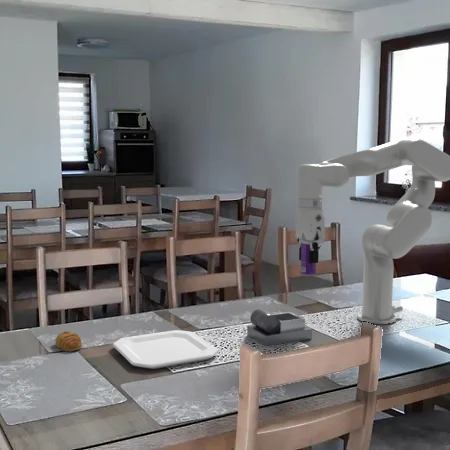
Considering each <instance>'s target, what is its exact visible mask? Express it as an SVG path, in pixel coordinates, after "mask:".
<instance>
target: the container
mask: <svg viewBox="0 0 450 450" xmlns="http://www.w3.org/2000/svg"><path fill="white" fill-rule="evenodd" d="M314 240H316V239H315V238H314ZM315 243H316V242H314V243H313V245H314V244H315ZM309 251H311V250H310V242H309V241H308V240H306V238H305V236H304V233H302V240H301V260H300V275H301V276H304V277H315V276H317V275H316V274H317V272H316V269H317V263H309Z"/></svg>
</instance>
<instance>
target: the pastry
mask: <svg viewBox="0 0 450 450" xmlns="http://www.w3.org/2000/svg"><path fill="white" fill-rule="evenodd" d="M54 342H55V346H56V348H58V349H59V350H62V351H64V352H70V353H71V352H74V351H77V350H81V348H82V347H83V346H82V345H83V343H82V339H81V337H80V336H79V334H77V333H76V332H75V333H74V332H72V331H68V330H67V331H62V332H61V333H59V334H58V335H57V336H56V338H55V341H54Z"/></svg>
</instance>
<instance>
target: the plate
mask: <svg viewBox="0 0 450 450" xmlns="http://www.w3.org/2000/svg"><path fill="white" fill-rule="evenodd" d="M112 346H113V348H114V349H115V350H116V351H118V353H119V354H121V356H122V357H124V358H125V360H127V361H128V363H130V364H131V365H132V366H134V367H136V368H137V367H138V368H142V369H149V370H155V369H161V368H168V367H173V366H178V365H179V366H180V365H185V364H190V363H195V362H202V361H205V360H208V359H211V358H213V357H215V355H217V353H218V352H219V349H218V348H217V347H216V346H214V345H212V344H211V343H209V342H208V341H206V340H205V339H204V338H202V337H201V336H199V335H197V334H196V333H195V332H193V331H188V330H181V329H180V330H179V329H178V330H177V329H175V330H166V331H161V332H160V331H159V332H154V333H147V334H140V335H133V336H126V337H121V338H119V339H118V340H115V342H113V343H112Z"/></svg>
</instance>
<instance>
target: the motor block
mask: <svg viewBox="0 0 450 450" xmlns="http://www.w3.org/2000/svg"><path fill="white" fill-rule="evenodd" d="M250 323H251V324H250V325H247V326H246V329H247V330H246V331H247V332H246V335H247V336H248V338H249V337H250V338H251V339H253V340H255V342H258V343H259V344H261V345H263V346H264V347H268V346H275V345H276V346H277V345H282V344H286V343H294V342H299V341H306V340H311V339H313V329H312V327H310V326H307V325H306V318H305V317H302V316H300V315H298V314H296V313H294V312H291V311H285V312H279V313H278V312H277V313H269V312H266V311H264V310H262V309H256V310H255V309H254V311H252V313H251V314H250Z"/></svg>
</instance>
